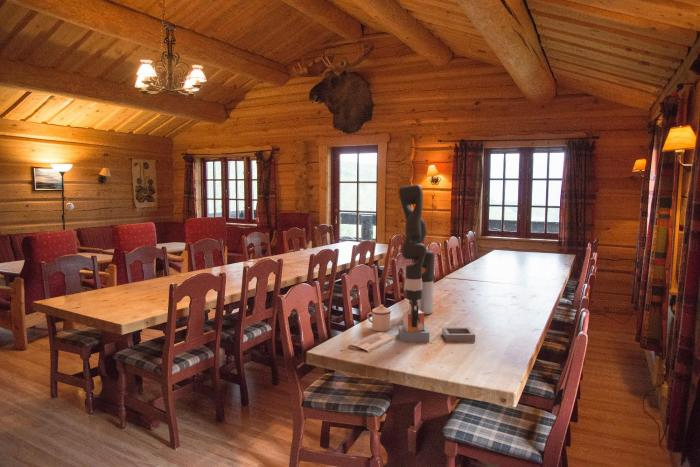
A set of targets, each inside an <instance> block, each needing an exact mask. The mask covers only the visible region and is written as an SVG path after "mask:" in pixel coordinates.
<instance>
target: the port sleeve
mask: <svg viewBox="0 0 700 467" xmlns="http://www.w3.org/2000/svg"><path fill="white" fill-rule="evenodd" d="M398 337H399V341H400V342H401V343H403V342H405V343H409V342H413V343H414V342H417V343H419V342H421V343H422V342H425V343H427V342H430V330H429V329H428V327H427V325H425V324H424V332H404V331H403V325H398Z"/></svg>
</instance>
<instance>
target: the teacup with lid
mask: <svg viewBox="0 0 700 467" xmlns="http://www.w3.org/2000/svg"><path fill="white" fill-rule="evenodd" d="M391 313H392V311H391V309H390V308H387V307H385V306H384V304H379V305H378V306H377V307H375V308H372V309H371V312H369V313H367V315H366V318H367V321H368V322H369V323H371V328H372V330H373V331H375V332H388V331H390V330H391ZM370 315H371V317H372V318H371V319H370Z"/></svg>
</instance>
